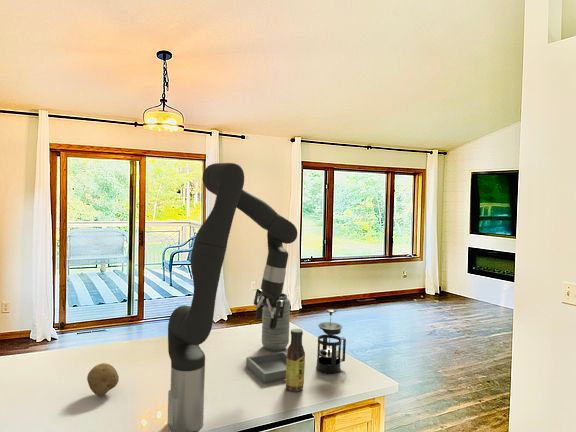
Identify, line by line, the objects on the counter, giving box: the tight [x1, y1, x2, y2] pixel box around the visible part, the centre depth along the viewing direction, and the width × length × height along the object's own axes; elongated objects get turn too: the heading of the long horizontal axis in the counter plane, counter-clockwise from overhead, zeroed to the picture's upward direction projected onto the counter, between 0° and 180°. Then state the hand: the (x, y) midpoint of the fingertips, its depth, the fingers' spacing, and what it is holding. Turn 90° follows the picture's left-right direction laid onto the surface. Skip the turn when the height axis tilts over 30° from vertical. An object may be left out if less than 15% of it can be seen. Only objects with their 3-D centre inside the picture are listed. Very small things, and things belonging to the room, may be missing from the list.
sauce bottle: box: [285, 328, 306, 392], centre depth 142 cm, size 6×6×20 cm
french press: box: [315, 308, 347, 376], centre depth 158 cm, size 12×9×23 cm
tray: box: [245, 350, 287, 385], centre depth 155 cm, size 16×16×4 cm
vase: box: [261, 292, 291, 353], centre depth 178 cm, size 12×12×23 cm
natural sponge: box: [86, 363, 119, 397], centre depth 132 cm, size 9×9×10 cm
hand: (265, 323), depth 145 cm, fingers open, 8 cm apart
